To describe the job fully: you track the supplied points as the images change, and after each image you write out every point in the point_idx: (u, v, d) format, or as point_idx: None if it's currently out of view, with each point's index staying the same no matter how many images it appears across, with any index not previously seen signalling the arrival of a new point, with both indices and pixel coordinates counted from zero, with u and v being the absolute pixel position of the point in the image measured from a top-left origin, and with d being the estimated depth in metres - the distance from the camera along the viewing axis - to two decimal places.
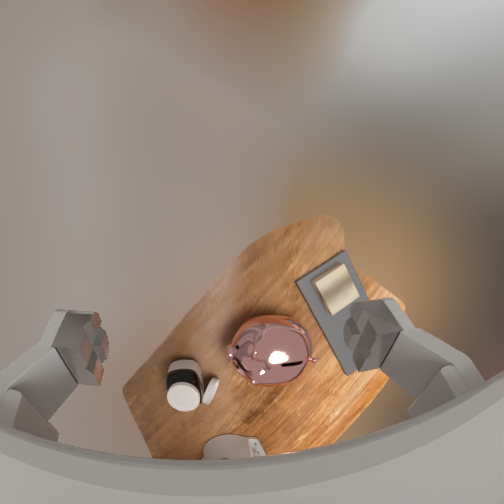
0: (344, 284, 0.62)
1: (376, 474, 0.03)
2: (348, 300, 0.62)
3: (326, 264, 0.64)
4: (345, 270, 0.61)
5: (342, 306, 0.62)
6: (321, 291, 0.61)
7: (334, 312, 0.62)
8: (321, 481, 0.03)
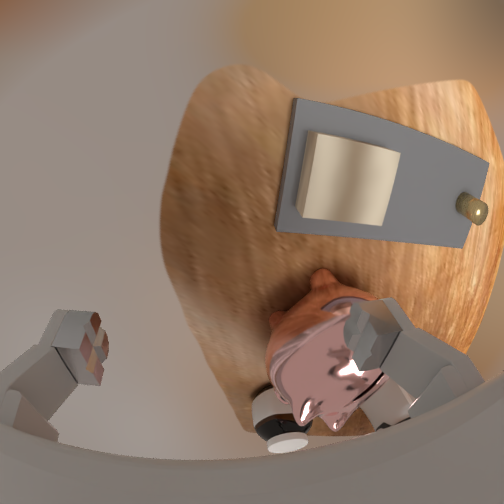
0: (356, 165, 0.24)
1: (376, 474, 0.03)
2: (388, 178, 0.25)
3: (291, 156, 0.26)
4: (333, 141, 0.23)
5: (385, 198, 0.26)
6: (327, 216, 0.27)
7: (380, 219, 0.27)
8: (321, 481, 0.03)
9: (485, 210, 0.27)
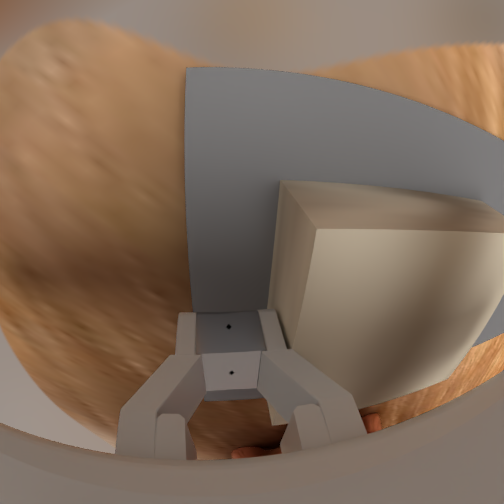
0: (437, 300, 0.07)
1: (376, 474, 0.03)
2: (491, 301, 0.08)
3: (199, 269, 0.09)
4: (382, 247, 0.05)
5: (473, 337, 0.09)
6: None
7: (450, 371, 0.10)
8: (321, 481, 0.03)
9: None
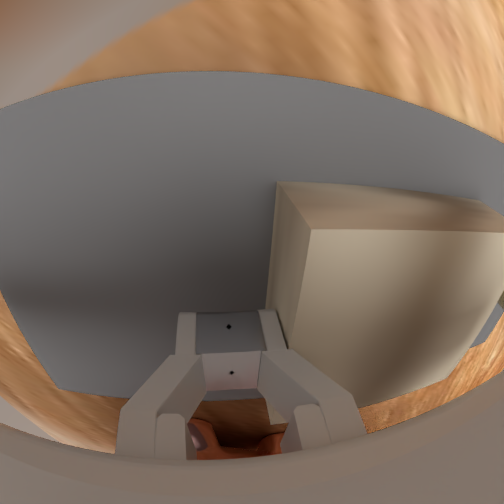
0: (434, 300, 0.07)
1: (376, 474, 0.03)
2: (490, 301, 0.08)
3: None
4: (378, 248, 0.06)
5: (472, 337, 0.09)
6: None
7: (449, 370, 0.10)
8: (321, 481, 0.03)
9: None
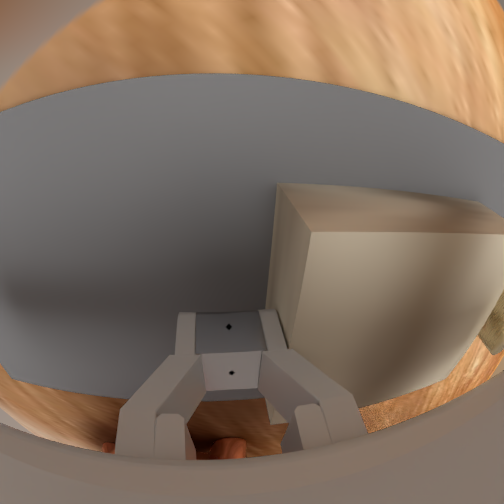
0: (434, 301, 0.07)
1: (376, 474, 0.03)
2: (489, 302, 0.08)
3: None
4: (377, 250, 0.06)
5: (471, 337, 0.09)
6: None
7: (448, 371, 0.10)
8: (320, 481, 0.03)
9: None
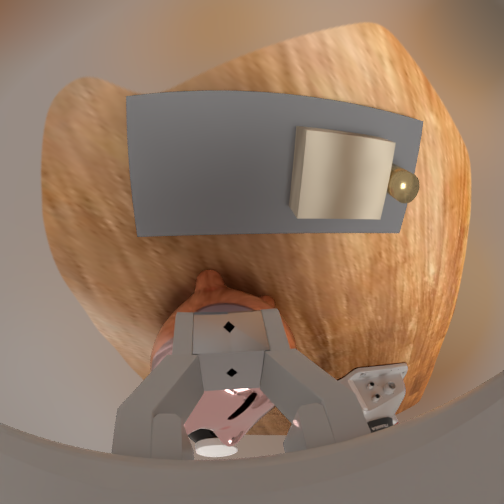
0: (350, 159, 0.23)
1: (376, 474, 0.03)
2: (383, 170, 0.24)
3: (131, 158, 0.23)
4: (324, 136, 0.22)
5: (382, 190, 0.25)
6: (323, 215, 0.26)
7: (378, 212, 0.26)
8: (320, 481, 0.03)
9: (414, 182, 0.24)
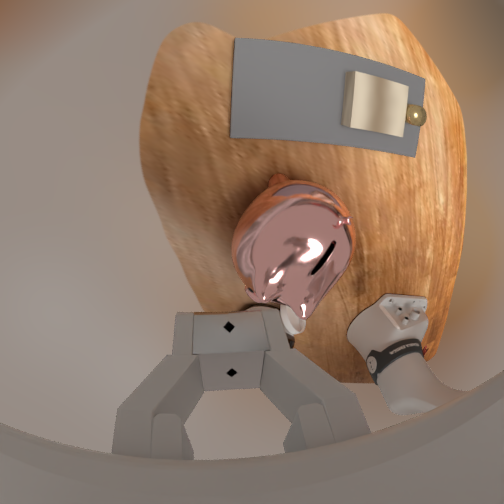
0: (381, 92, 0.31)
1: (376, 474, 0.03)
2: (402, 103, 0.32)
3: (235, 78, 0.31)
4: (365, 76, 0.29)
5: (403, 116, 0.33)
6: (366, 127, 0.33)
7: (401, 132, 0.34)
8: (321, 481, 0.03)
9: (423, 112, 0.31)
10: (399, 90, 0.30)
